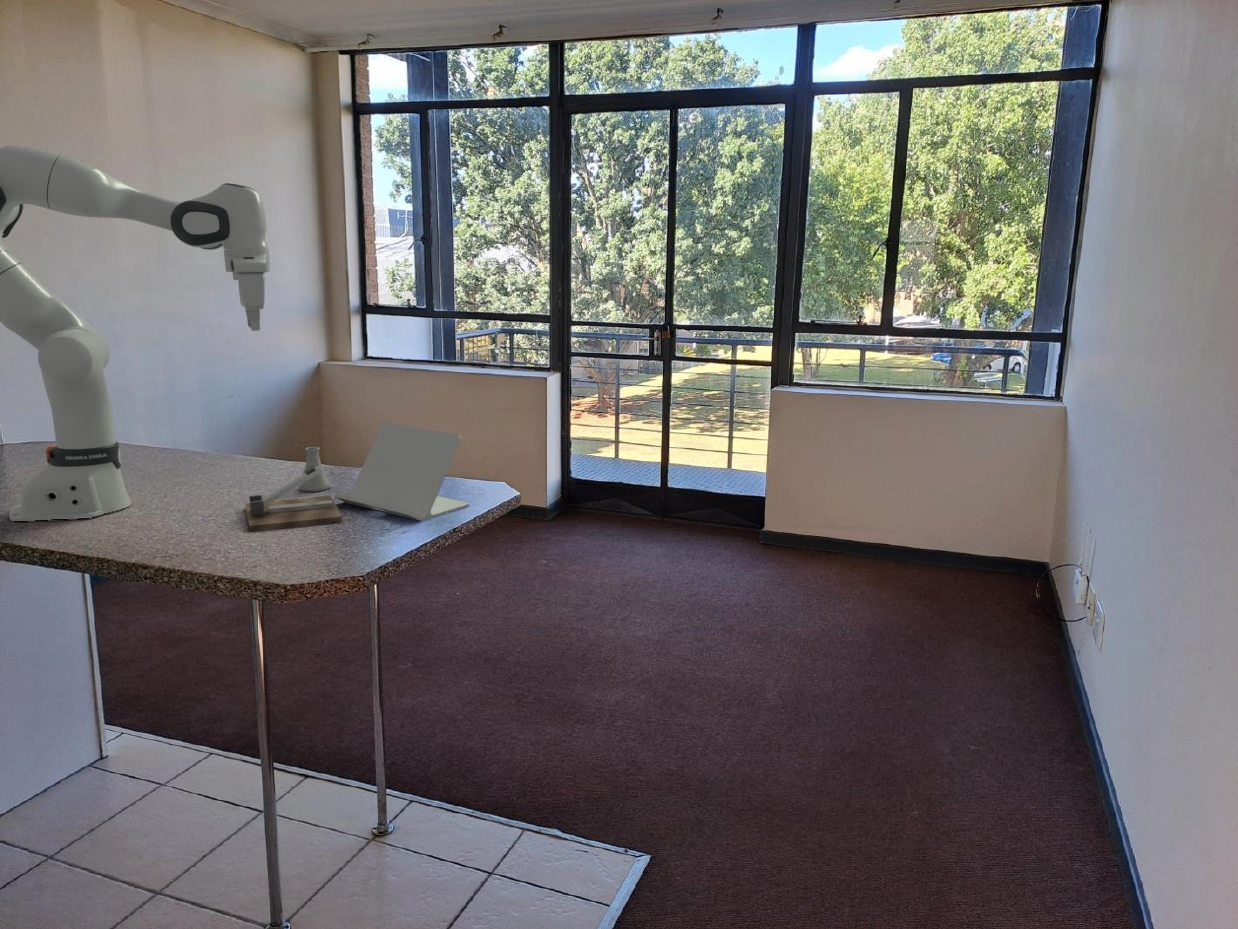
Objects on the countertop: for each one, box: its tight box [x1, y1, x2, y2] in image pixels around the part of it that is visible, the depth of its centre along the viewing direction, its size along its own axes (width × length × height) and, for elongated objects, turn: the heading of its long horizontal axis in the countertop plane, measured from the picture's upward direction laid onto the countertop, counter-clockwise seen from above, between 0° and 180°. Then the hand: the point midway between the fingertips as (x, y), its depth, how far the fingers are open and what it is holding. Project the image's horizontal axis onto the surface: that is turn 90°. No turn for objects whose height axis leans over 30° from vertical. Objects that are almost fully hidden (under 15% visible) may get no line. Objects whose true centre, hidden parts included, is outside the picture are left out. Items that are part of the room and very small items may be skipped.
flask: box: [298, 446, 332, 493], centre depth 210 cm, size 7×7×10 cm
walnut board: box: [244, 495, 343, 532], centre depth 189 cm, size 18×18×1 cm
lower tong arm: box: [249, 494, 333, 517], centre depth 188 cm, size 16×6×3 cm, turn 115°
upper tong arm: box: [252, 466, 322, 506], centre depth 187 cm, size 16×4×2 cm, turn 114°
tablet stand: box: [333, 422, 470, 522], centre depth 196 cm, size 18×25×17 cm
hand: (254, 328), depth 190 cm, fingers open, 8 cm apart
